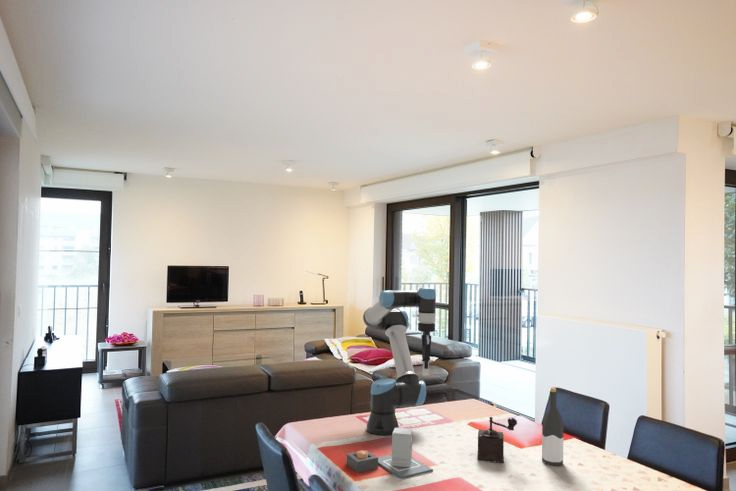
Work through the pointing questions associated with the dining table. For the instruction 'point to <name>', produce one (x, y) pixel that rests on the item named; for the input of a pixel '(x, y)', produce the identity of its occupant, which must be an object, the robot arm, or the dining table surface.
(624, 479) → the dining table surface
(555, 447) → the wine bottle
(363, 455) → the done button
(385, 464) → the slate board
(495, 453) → the manual coffee grinder
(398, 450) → the supplement box
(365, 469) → the button housing
